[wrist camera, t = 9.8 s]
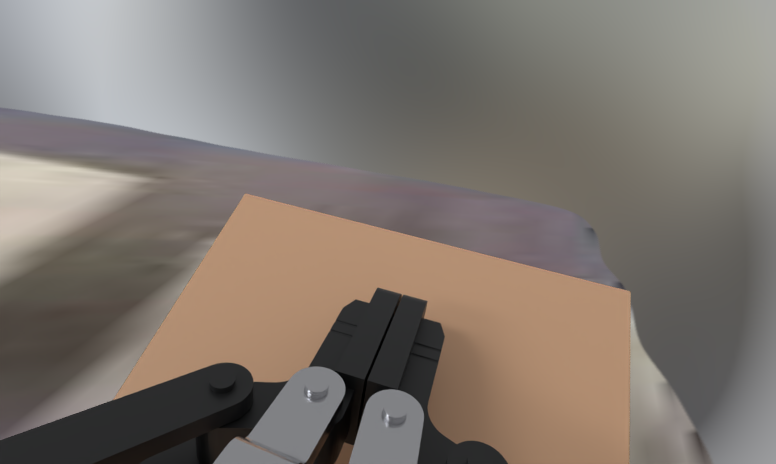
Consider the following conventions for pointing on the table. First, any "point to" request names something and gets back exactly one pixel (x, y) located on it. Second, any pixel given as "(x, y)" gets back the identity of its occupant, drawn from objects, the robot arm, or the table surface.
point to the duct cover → (445, 305)
